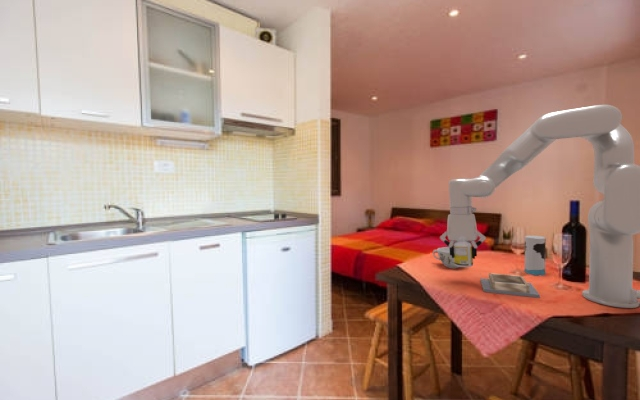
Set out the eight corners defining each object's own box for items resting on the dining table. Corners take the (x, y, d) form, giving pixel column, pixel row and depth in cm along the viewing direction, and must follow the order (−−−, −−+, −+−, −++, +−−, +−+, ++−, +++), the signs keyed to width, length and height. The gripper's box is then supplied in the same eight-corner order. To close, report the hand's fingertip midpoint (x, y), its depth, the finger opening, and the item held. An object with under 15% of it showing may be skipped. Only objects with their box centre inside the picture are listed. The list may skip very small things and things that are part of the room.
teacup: (471, 265, 130) (471, 248, 129) (462, 272, 121) (462, 254, 120) (438, 260, 140) (438, 244, 140) (427, 266, 131) (427, 249, 131)
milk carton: (549, 275, 114) (549, 238, 113) (532, 275, 114) (533, 238, 113) (536, 270, 121) (536, 235, 120) (520, 270, 121) (521, 235, 120)
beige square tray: (522, 282, 104) (522, 275, 104) (529, 293, 95) (529, 285, 95) (488, 279, 109) (488, 273, 109) (492, 289, 99) (492, 282, 99)
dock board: (530, 285, 104) (530, 282, 104) (539, 297, 93) (539, 294, 93) (480, 280, 111) (480, 278, 111) (483, 291, 100) (483, 289, 100)
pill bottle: (468, 262, 112) (467, 233, 112) (476, 267, 106) (474, 236, 105) (451, 263, 113) (450, 234, 112) (457, 268, 106) (456, 237, 106)
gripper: (485, 209, 108) (488, 256, 109) (436, 210, 115) (439, 254, 116) (488, 211, 101) (490, 261, 102) (435, 212, 109) (438, 259, 109)
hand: (463, 257), depth 109 cm, fingers closed on pill bottle, 6 cm apart
